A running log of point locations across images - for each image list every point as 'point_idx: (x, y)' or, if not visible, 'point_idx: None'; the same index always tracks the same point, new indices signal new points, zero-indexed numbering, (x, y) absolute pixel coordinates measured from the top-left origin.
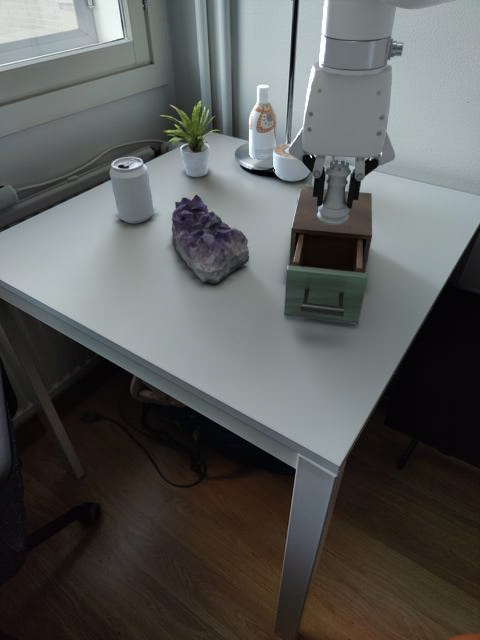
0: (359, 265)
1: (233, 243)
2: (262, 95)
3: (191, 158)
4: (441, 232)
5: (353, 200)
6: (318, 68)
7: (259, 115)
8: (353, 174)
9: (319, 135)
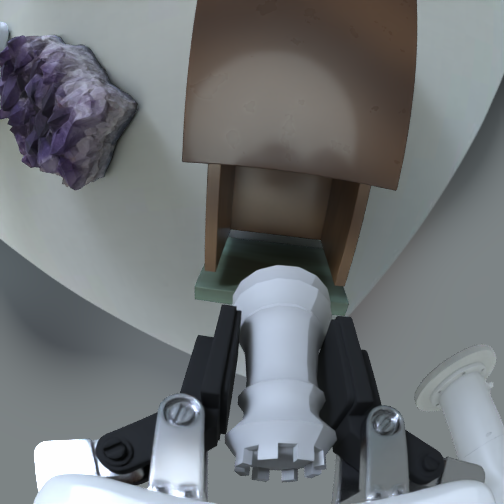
0: (341, 278)
1: (90, 131)
2: None
3: None
4: (486, 24)
5: (369, 3)
6: None
7: None
8: (335, 453)
9: None
